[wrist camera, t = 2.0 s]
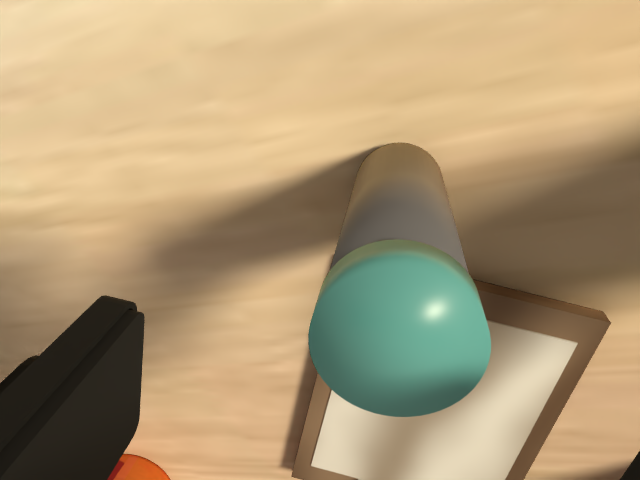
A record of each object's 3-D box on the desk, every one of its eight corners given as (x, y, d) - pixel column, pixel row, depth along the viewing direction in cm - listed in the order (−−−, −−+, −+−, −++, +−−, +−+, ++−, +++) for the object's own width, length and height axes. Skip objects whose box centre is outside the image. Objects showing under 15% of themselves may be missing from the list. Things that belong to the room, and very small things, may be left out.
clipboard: (603, 311, 24) (618, 333, 23) (491, 517, 31) (496, 546, 29) (349, 248, 25) (345, 265, 23) (294, 463, 32) (288, 488, 30)
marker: (455, 150, 22) (519, 294, 10) (429, 232, 24) (457, 435, 12) (365, 129, 22) (327, 246, 11) (345, 212, 24) (294, 392, 12)
